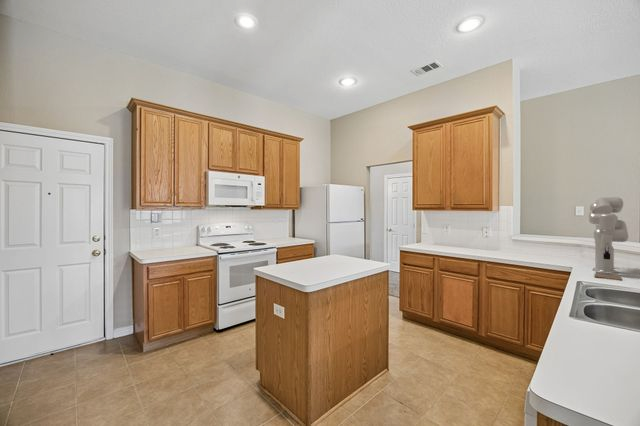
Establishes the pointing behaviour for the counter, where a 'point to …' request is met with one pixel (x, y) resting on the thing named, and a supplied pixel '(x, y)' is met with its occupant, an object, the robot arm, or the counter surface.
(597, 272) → the hinge leaf
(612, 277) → the hinge base
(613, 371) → the counter surface
